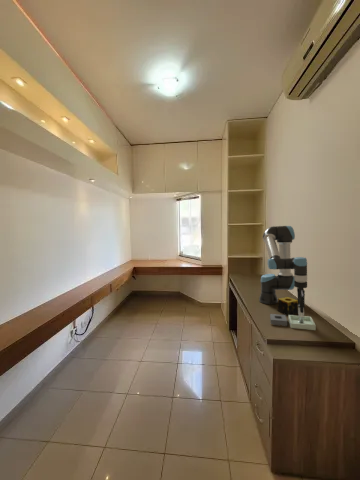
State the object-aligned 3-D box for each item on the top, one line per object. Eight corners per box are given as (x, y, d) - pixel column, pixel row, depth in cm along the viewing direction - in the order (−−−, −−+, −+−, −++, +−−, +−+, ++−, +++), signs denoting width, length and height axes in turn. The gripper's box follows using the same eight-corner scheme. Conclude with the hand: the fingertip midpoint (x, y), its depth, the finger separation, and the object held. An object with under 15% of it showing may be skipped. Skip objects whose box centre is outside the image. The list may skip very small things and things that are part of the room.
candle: (277, 311, 174) (277, 298, 174) (287, 308, 178) (287, 296, 177) (288, 316, 165) (287, 302, 164) (298, 313, 168) (298, 300, 168)
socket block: (270, 318, 162) (270, 313, 161) (285, 319, 158) (285, 315, 158) (270, 324, 152) (270, 319, 152) (287, 326, 149) (287, 321, 149)
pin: (298, 321, 152) (298, 303, 152) (303, 321, 151) (303, 304, 151) (299, 323, 150) (298, 305, 149) (304, 323, 149) (303, 305, 148)
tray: (288, 319, 160) (288, 314, 159) (311, 320, 155) (310, 316, 155) (290, 327, 146) (290, 323, 146) (315, 330, 142) (315, 325, 142)
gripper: (292, 277, 157) (293, 310, 159) (296, 283, 142) (296, 320, 144) (304, 278, 155) (305, 311, 157) (309, 284, 140) (310, 321, 141)
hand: (301, 315), depth 150 cm, fingers closed on pin, 3 cm apart
